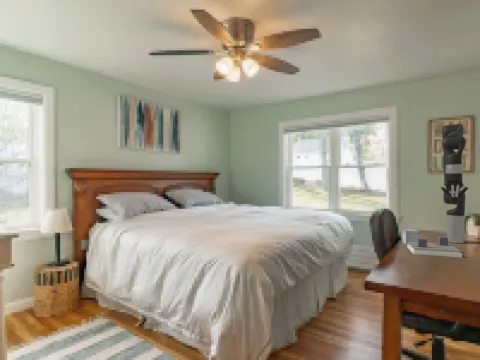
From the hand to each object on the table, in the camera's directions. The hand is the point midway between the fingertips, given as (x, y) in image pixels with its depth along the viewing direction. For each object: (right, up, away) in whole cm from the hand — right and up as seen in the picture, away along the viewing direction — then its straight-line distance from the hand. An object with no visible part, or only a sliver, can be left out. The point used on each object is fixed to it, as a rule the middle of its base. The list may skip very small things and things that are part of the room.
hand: (453, 203), depth 159 cm
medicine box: (-11, -27, +21) cm, 36 cm away
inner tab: (-4, -25, +3) cm, 25 cm away
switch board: (-11, -27, +1) cm, 29 cm away
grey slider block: (-18, -25, -1) cm, 31 cm away
